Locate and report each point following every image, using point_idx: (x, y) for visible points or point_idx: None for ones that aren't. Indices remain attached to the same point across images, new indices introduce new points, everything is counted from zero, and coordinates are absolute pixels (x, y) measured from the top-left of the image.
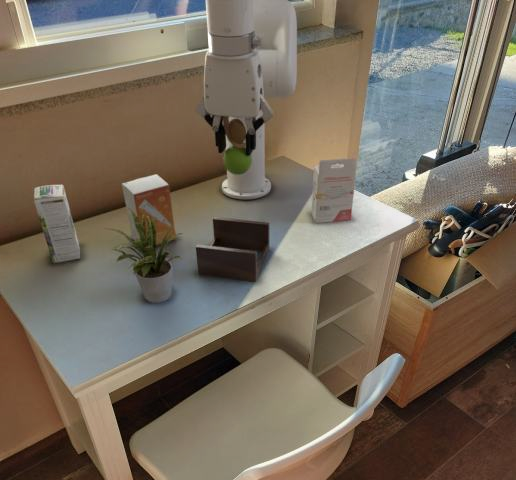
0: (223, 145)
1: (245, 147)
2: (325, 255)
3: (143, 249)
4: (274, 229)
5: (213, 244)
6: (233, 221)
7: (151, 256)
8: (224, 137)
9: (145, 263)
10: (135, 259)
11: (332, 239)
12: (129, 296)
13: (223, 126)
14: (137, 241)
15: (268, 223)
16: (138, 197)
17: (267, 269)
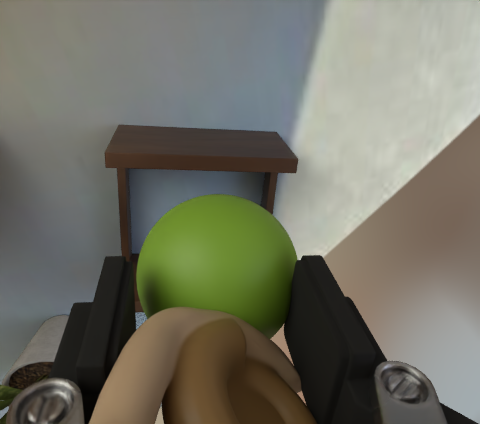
0: (131, 332)
1: (274, 286)
2: (419, 133)
3: (3, 406)
4: (281, 8)
5: (125, 176)
6: (181, 169)
7: None
8: (126, 339)
9: (16, 372)
10: (2, 419)
11: (450, 47)
12: (10, 351)
13: (97, 376)
14: None
15: (296, 165)
16: None
17: (280, 215)
